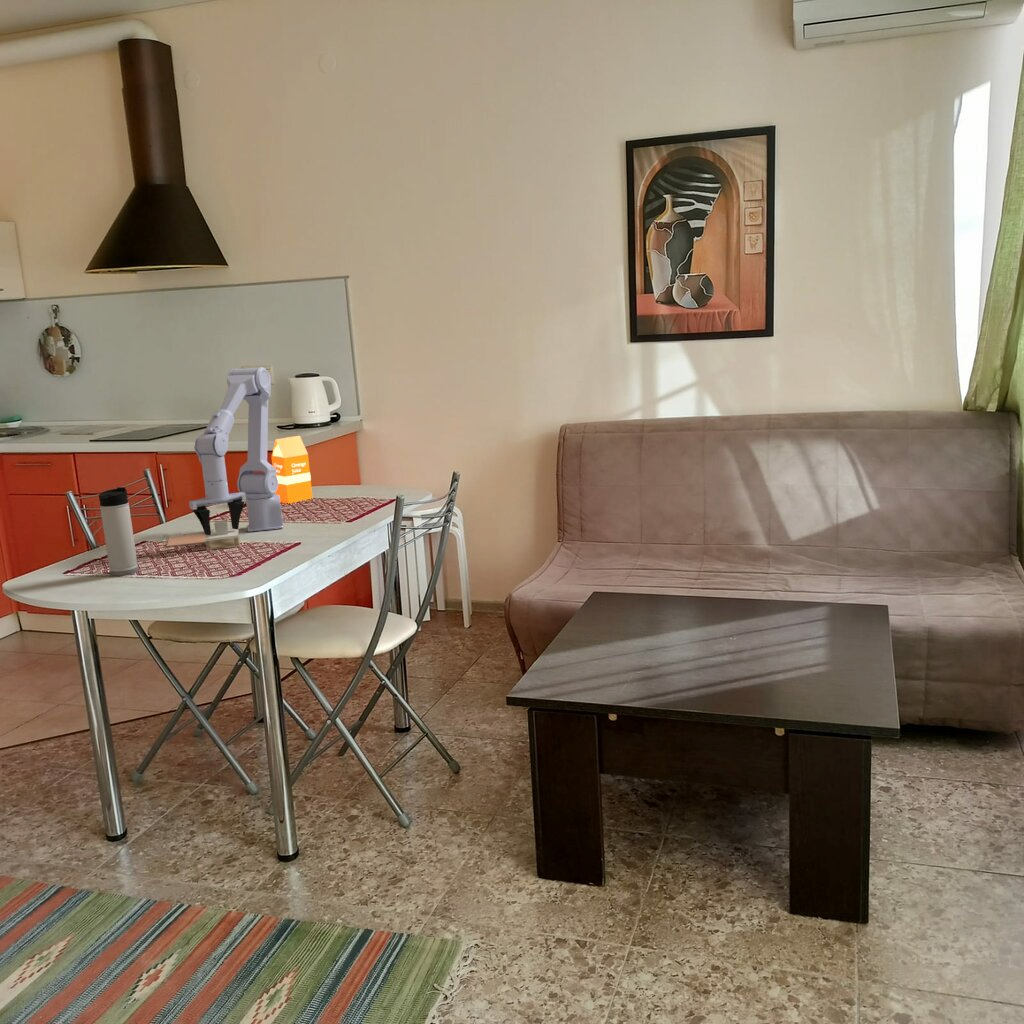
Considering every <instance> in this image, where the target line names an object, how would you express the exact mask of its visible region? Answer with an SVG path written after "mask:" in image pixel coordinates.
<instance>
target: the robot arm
mask: <svg viewBox="0 0 1024 1024" xmlns="http://www.w3.org/2000/svg"><path fill="white" fill-rule="evenodd" d="M226 382H227V390H226V394H225V396H224V398H223V399H224V400H223V402H222V404H221V407H220V409H218V410H215V411H214V412H213V414H212V415H211V418H210V420H209V422H208V424H207V426H206V427H205V430H204V431H203V433H201V434H200V435H199V436H197V437H196V439H195V443H194V446H193V447H194V451H195V453H196V455H197V457H198V461H199V463H200V464H201V467H202V468H201V469H202V476H203V477H202V478H203V484H204V485H203V487H204V493H205V497H202V498H199V499H195V500H189V502H188V503H189V509H190V510H192V512H193V513H194V515H195V517H197V519H198V521H199V523H200V525H201V527H202V529H203V533H205V535H211V532H212V531H211V530H212V529H211V521H210V514H211V510H210V509H208V508H207V507H211V506H217V505H222V504H227V506H228V510H229V514H230V521H231V522H230V523H231V528H232V529H231V530H233V529H238V530H239V525H240V519H241V515H242V512H243V509H244V507H245V502H246V512H247V513H246V514H247V520H248V524H247V532H249V533H250V532H258V531H259V532H260V531H269V530H276V529H277V530H278V529H283V528H284V514H283V513H282V504H281V502H280V495H276V491H277V488H278V480H277V476H276V469H275V468H274V467H273V466H272V464H270V463H269V462H268V440H269V439H268V432H269V400H270V399H271V393H272V392H271V391H272V389H271V387H272V377H271V375H270V373H269V372H268V370H267V369H266V368H265V367H262V366H261V367H250V368H249V367H247V368H235V367H234V368H232V369H230V371H229V372H228V376H227V378H226ZM243 400H244V401H246V404H248V423H247V424H248V427H247V461H246V462H245V463H244V464H242V465H241V466H240V467H239V472H238V473H239V474H238V478H237V482H236V486H237V490H238V492H233V493H232V492H231V493H229V492H230V491H229V487H228V486H229V485H228V477H227V467H226V460H225V455H226V453H227V452H228V451H229V439H230V438H229V436H230V433H231V431H232V429H233V427H234V425H235V423H236V419H235V416H234V414H235V413H236V412H237V409H238V408H239V406H240V404H241V402H242V401H243Z"/></svg>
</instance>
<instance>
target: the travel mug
mask: <svg viewBox="0 0 1024 1024" xmlns="http://www.w3.org/2000/svg"><path fill="white" fill-rule="evenodd" d="M128 497H129V496H128V492H127V489H126V487H123V486H121V487H119V486H118V487H116V488H113V489H112V488H111V489H108V490H105V491H104V490H103V491H102V492H100V493H99V494H98V500H99V506H100V507H99V508H100V516H101V521H102V528H103V534H104V541H105V548H106V554H107V555H106V556H107V562H108V567H109V569H108V570H109V574H110V576H113V577H123V576H128V575H132V574H133V575H134V574H135V573H137V572H138V571H139V565H138V557H137V552H136V551H137V550H136V545H135V538H134V532H133V531H134V530H133V523H132V515H131V510H130V504H129V499H128Z"/></svg>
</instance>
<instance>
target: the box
mask: <svg viewBox="0 0 1024 1024" xmlns="http://www.w3.org/2000/svg"><path fill="white" fill-rule="evenodd" d="M239 533H240V532H238V538H230V539H220V540H211V541H206V543H205V547H206V551H211V550H212V551H213V550H221V549H229V548H237V547H238V548H240V534H239Z"/></svg>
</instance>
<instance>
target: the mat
mask: <svg viewBox="0 0 1024 1024" xmlns="http://www.w3.org/2000/svg"><path fill="white" fill-rule="evenodd" d="M205 538H206V535H205V533H204V532H203V533H195V534H185V535H176V536H169V538H168V541H167V543H166V546H165V547H166V548H174V547H176V548H177V547H182V546H193V545H202V544H206V541H205Z"/></svg>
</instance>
